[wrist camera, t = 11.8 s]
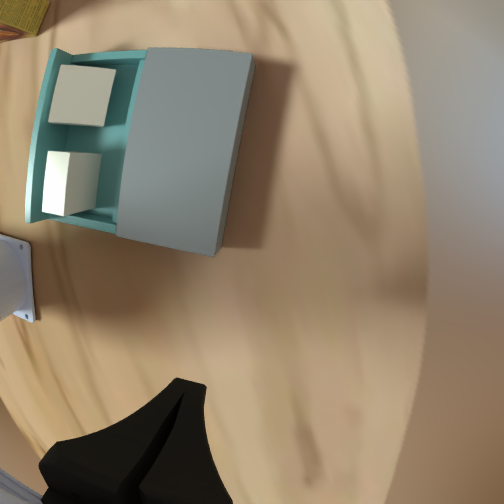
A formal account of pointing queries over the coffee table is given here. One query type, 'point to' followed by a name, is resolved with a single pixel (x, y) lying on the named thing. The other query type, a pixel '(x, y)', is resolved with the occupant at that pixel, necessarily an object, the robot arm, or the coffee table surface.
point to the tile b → (81, 96)
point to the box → (86, 137)
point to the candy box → (21, 18)
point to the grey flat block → (184, 147)
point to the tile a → (70, 182)
